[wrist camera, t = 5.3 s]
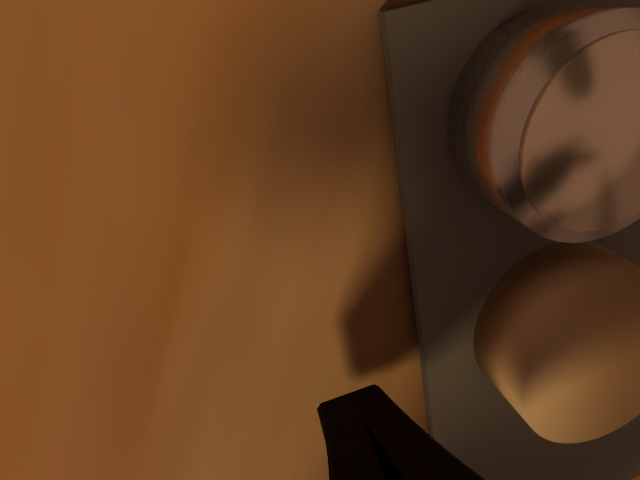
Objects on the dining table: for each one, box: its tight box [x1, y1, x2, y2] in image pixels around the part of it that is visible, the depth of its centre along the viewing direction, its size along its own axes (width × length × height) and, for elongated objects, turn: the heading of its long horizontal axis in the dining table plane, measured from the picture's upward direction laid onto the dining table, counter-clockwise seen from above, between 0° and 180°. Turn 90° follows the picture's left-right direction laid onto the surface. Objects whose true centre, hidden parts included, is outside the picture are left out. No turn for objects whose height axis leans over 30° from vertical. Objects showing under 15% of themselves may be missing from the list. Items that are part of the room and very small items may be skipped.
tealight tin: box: [447, 5, 640, 243], centre depth 10 cm, size 4×4×2 cm
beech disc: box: [473, 241, 640, 443], centre depth 12 cm, size 4×4×2 cm
